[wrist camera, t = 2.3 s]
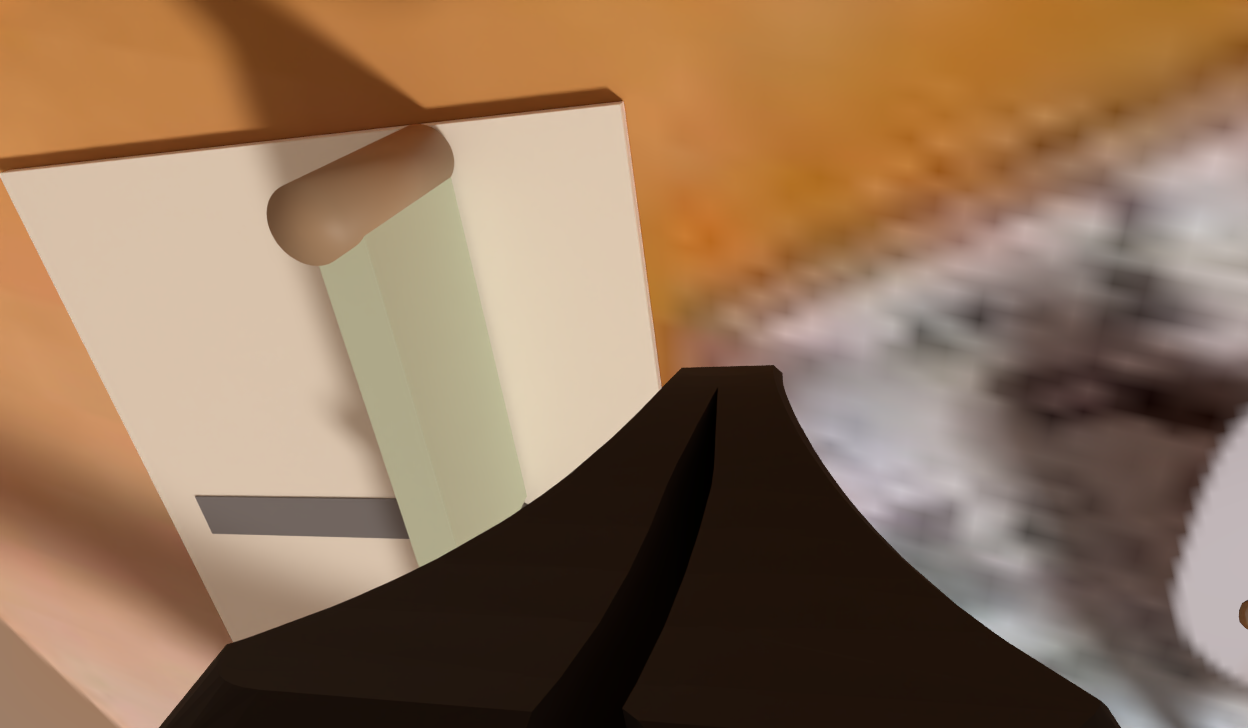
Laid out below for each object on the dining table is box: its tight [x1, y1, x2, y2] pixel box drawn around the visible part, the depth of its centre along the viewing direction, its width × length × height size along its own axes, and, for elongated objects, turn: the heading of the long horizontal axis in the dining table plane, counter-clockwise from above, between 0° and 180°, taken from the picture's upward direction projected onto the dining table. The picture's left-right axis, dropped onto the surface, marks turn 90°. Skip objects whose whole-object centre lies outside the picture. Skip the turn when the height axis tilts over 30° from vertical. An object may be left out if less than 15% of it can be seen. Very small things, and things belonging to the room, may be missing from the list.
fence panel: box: [266, 124, 527, 567], centre depth 19 cm, size 11×2×5 cm, turn 8°
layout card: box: [0, 101, 662, 642], centre depth 25 cm, size 22×18×1 cm
